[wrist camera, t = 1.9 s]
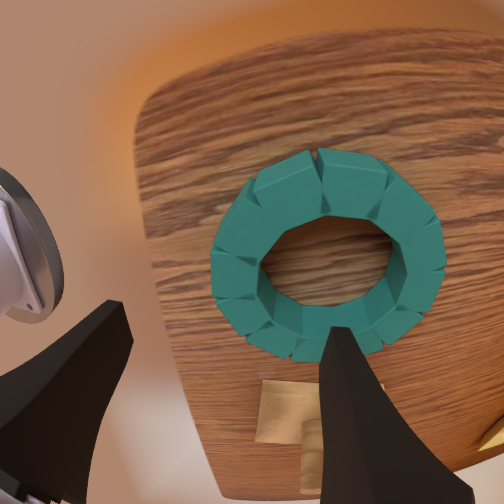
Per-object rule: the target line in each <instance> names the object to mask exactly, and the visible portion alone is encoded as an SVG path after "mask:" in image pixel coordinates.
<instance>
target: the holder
mask: <svg viewBox="0 0 504 504" xmlns="http://www.w3.org/2000/svg"><path fill="white" fill-rule="evenodd" d="M380 385H381V386H382V388H383V390H384V391H385V388H384V384H380ZM255 442H267V443H281V444H301V464H300V489H299V492H300V493H302V494H321V487H322V474H323V436H322V423H321V411H320V399H319V383H309V382H291V381H277V380H265V379H263V381H262V389H261V397H260V405H259V412H258V420H257V427H256V435H255Z"/></svg>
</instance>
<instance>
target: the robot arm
mask: <svg viewBox="0 0 504 504" xmlns="http://www.w3.org/2000/svg"><path fill="white" fill-rule="evenodd" d="M11 306H14V307H17V308H20V309H23V310H27V311H30V312H34V313H37V314H40V313H41V311H42V310H43V307H42V304H41V302H40V300H39V297H38V295H37V292H36V290H35V288H34V285H33V283H32V280H31V277H30V275H29V272H28V270H27V267H26V264H25V261H24V259H23V256H22V253H21V250H20V247H19V244H18V241H17V238H16V234H15V231H14V228H13V224H12V221H11V217H10V214H9V210H8V207H7V205H6V203H5V202H4V201H2V200H0V320H1V319H2V317H3V316H4V315H5V314H6V312H7V311H8V310H9V309H10V307H11ZM133 341H134V340H133V337H132V334H131V330H130V327H129V324H128V320H127V317H126V314H125V310H124V306H123V303H122V302H119V301H113V300H107V301H105V302H104V303H103V304H101V305H100V306H99V307H98V308H96V309H95V310H94V311H93V312H92V313H90V314H89V315H88V316H87V317H86V318H84V319H83V320H82V321H80V322H79V323H78V324H77V325H76V326H74V327H73V328H72V329H71V330H69V331H68V332H67V333H66V334H64V335H63V336H62V337H61V338H59V339H58V340H57V341H55V342H54V343H53V344H51V345H50V346H49V347H47V348H46V349H45V350H43V351H42V352H40V353H39V354H38V355H36V356H35V357H33V358H32V359H30V360H29V361H27V362H25V363H24V364H22V365H20V366H19V367H17V368H15V369H13V370H11V371H10V372H8V373H6V374H4V375H2V376H0V504H50V502H51V500H52V501H54V502H56V503H58V504H60V503H61V500H64V501H66V502H68V503H70V504H86V497H87V486H88V478H89V472H90V466H91V459H92V455H93V451H94V447H95V443H96V439H97V435H98V432H99V428H100V425H101V421H102V419H103V416H104V413H105V411H106V408H107V406H108V404H109V402H110V400H111V397H112V395H113V393H114V391H115V388H116V386H117V384H118V382H119V380H120V377H121V375H122V373H123V371H124V369H125V366H126V364H127V361H128V357H129V355H130V352H131V348H132V345H133ZM319 399H320V411H321V423H322V436H323V474H322V487H321V498H320V504H475V497H474V493H473V489H472V488H471V487H470V486H469V485H467V484H466V483H465V482H464V481H462V480H461V479H460V478H459V477H458V476H456V475H455V474H454V473H453V472H451V471H450V470H449V469H448V468H447V467H446V466H445V465H444V464H443V463H442V462H441V461H440V460H439V459H438V458H437V457H436V456H435V455H434V454H433V453H432V452H431V451H430V450H429V449H428V448H427V447H426V446H425V445H424V443H423V442H422V441H421V440H420V439H419V438H418V437H417V436H416V434H415V433H414V432H413V431H412V429H411V428H410V427H409V426H408V424H407V423H406V422H405V420H404V419H403V418H402V416H401V415H400V414H399V412H398V411H397V409H396V408H395V407H394V405H393V404H392V402H391V401H390V399H389V397H388V396H387V394H386V393H385V391H384V390H383V388H382V386H381V385H380V383H379V381H378V380H377V378H376V376H375V374H374V373H373V371H372V369H371V367H370V366H369V364H368V362H367V360H366V358H365V356H364V355H363V353H362V351H361V349H360V347H359V345H358V343H357V341H356V339H355V337H354V335H353V333H352V331H351V329H350V328H349V327H337V326H331V328H330V332H329V335H328V338H327V342H326V345H325V348H324V351H323V354H322V358H321V361H320V364H319Z"/></svg>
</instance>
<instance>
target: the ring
mask: <svg viewBox="0 0 504 504" xmlns="http://www.w3.org/2000/svg"><path fill="white" fill-rule="evenodd" d="M435 214H436V212H435V211H434V209H433V208H432V207H431V206H430V205H429V204H428V203H427V202H426V201H425V199H424V198H423V197H422V196H421V195H420V194H419V193H418V192H417V191H416V190H415V189H414V188H413V187H412V186H411V185H410V184H409V183H407V182H406V181H405V180H404V179H403V178H402V177H401V176H400V175H399V174H398V173H396V172H395V171H394V170H393V169H392V168H391V167H390V166H388V165H387V164H386V163H385V162H384V161H383V160H381V159H380V160H379V161H377V160H376V159H375V158H374V157H373V156H372V155H367V154H360V153H354V152H347V151H339V150H332V149H323V148H318V152H317V160H316V163H315V161H314V159H313V157H312V154H311V152H310V151H309V150H306V151H303V152H301V153H299V154H296V155H294V156H292V157H290V158H287V159H285V160H283V161H280V162H278V163H276V164H274V165H271V166H269V167H267V168H265V169H263V170H260V171H259V172H258V173H257V177H256V180H254V179H253V178H250V179H249V180H248V182H247V183H246V185H245V186H244V188H243V189H242V191H241V192H240V193H239V195H238V196H237V198H236V199H235V201H234V202H233V204H232V205H231V207H230V208H229V210H228V211H227V213H226V214H225V216H224V217H223V220H222V222H221V224H220V227H219V229H218V232H217V234H216V237H215V239H214V242H213V244H214V245H213V247H212V250H211V252H210V253H211V280H212V296H213V297H217V299H216V305H217V307H218V308H219V309H220V311H221V312H222V313H223V315H224V316H225V317H226V319H227V320H228V321H229V323H230V324H231V325H232V327H233V328H234V329H235V330H236V332H237V333H238V334H239V336H244V335H246V342H248V343H250V344H252V345H254V346H256V347H259V348H261V349H263V350H265V351H267V352H269V353H271V354H273V355H275V356H278V357H280V358H282V359H285V358H286V357H287V356H289V355H290V354H291V361H297V362H313V363H320V361H321V358H322V354H323V351H324V348H325V345H326V342H327V338H328V335H329V332H330V328H331V326H337V327H349V328H350V329H351V331H352V333H353V335H354V337H355V339H356V341H357V343H358V345H359V347H360V349H361V351H362V353H363V355H364V356H365V355H368V354H371V353H374V352H377V351H380V350H383V349H384V347H383V343H382V341H383V342H385V343H387V344H388V345H392V344H393V343H394V342H395V341H397V340H398V339H399V338H400V337H402V336H403V335H404V334H405V333H406V332H408V331H409V330H410V329H411V328H412V327H414V326H415V325H416V324H417V323H418V322H420V321H421V320H422V319H423V315H422V313H421V312H429V310H430V308H431V306H432V304H433V302H434V299H435V297H436V295H437V293H438V291H439V288H440V286H441V284H442V281H443V279H444V277H445V274H446V272H445V270H444V268H443V267H444V266H446V265H447V260H446V253H445V246H444V240H443V234H442V228H441V222H440V220H439V219H438V218H437V216H436V215H435ZM326 215H328V216H338V217H347V218H356V219H364V220H370V221H371V222H373V223H374V224H375V225H376V226H378V227H379V228H380V229H382V230H383V231H384V232H385V233H387V234H388V235H389V236H390V238H391V241H392V245H393V250H392V253H391V257H390V260H389V263H388V266H387V269H386V273H385V276H384V277H383V278H382V279H381V280H380V281H379V282H378V283H377V284H376V285H375V286H374V287H373V288H372V289H370V290H369V291H368V292H367V293H366V294H365V295H364V296H363V297H361V298H358V299H355V300H352V301H349V302H346V303H343V304H340V305H338V306H335V307H324V306H310V305H301V304H299V303H298V302H296V301H294V300H292V299H290V298H289V297H287V296H285V295H283V294H282V293H280V292H278V291H276V290H275V289H274V287H273V285H272V284H271V282H270V280H269V278H268V277H267V275H266V273H265V272H264V270H263V268H262V267H261V261H262V259H263V258H264V256H265V255H266V254H267V253H268V251H269V250H270V249H271V248H272V247H273V245H274V244H275V243H276V242H277V240H278V239H279V238H280V237H281V235H282V234H283V233H284V232H285V231H288V230H290V229H293V228H295V227H298V226H300V225H303V224H305V223H308V222H310V221H313V220H315V219H318V218H321V217H323V216H326Z"/></svg>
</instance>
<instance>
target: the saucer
mask: <svg viewBox="0 0 504 504" xmlns="http://www.w3.org/2000/svg"><path fill="white" fill-rule="evenodd" d="M502 443H504V416H503V417H502V418H501V419H500V420H499V421H498V422H497V423H496V424H495V425H494V426H493V427H492V428H491V429H490V430H489V431H488V432H486V433H485V435H484V437H483V438H482V440H481V442H480V444H479V447H478V449H477V451H481V450H484V449H487V448H490V447H493V446H496V445H499V444H502Z"/></svg>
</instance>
